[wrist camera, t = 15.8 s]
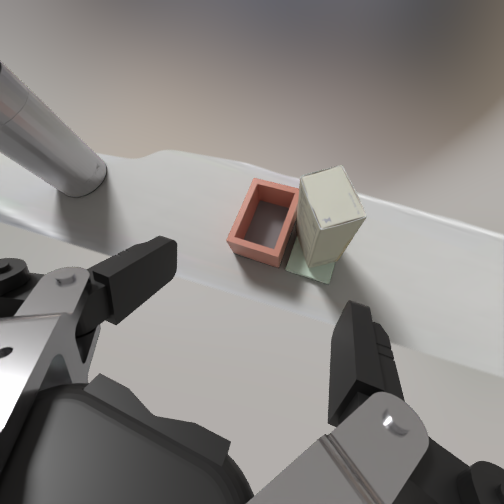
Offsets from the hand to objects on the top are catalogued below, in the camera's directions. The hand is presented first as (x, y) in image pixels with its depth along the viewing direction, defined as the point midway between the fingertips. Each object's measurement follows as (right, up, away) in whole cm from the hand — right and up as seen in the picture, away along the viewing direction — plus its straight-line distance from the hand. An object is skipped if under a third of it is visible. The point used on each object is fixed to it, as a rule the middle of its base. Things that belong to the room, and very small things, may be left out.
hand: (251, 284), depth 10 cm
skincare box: (+9, +2, +22) cm, 24 cm away
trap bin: (+2, +5, +24) cm, 25 cm away
